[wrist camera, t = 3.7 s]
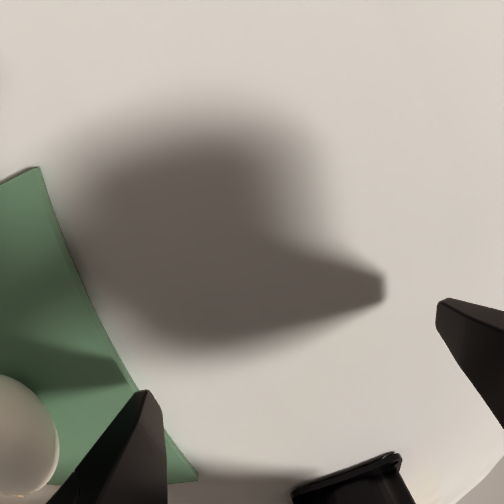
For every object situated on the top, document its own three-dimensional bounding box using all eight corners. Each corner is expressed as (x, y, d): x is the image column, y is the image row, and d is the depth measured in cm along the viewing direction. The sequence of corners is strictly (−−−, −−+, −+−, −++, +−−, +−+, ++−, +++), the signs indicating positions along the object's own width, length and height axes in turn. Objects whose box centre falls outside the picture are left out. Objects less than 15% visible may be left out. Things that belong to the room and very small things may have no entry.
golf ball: (29, 339, 8) (-29, 440, 4) (92, 429, 10) (72, 525, 6) (-41, 354, 8) (-92, 428, 4) (17, 431, 10) (-10, 507, 6)
